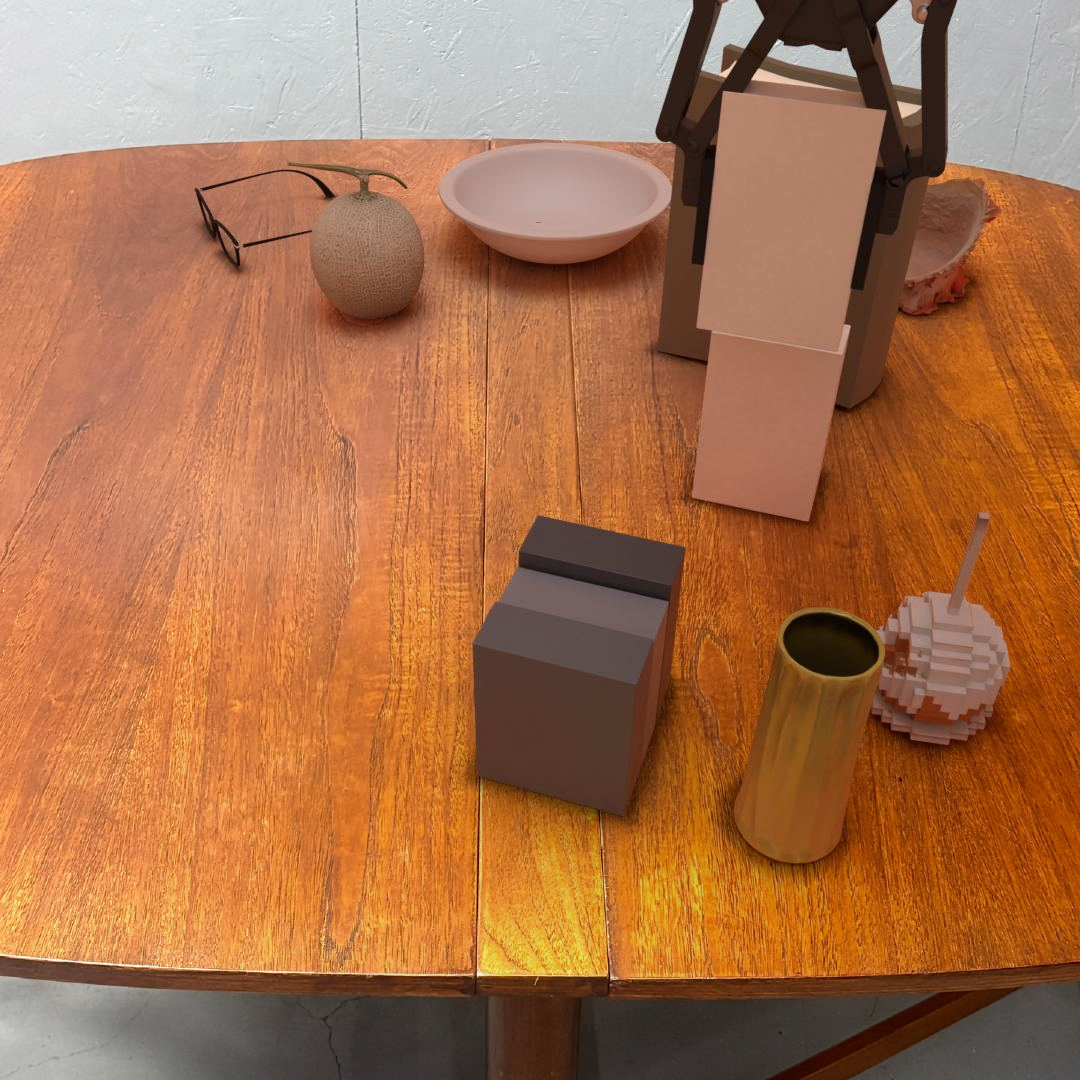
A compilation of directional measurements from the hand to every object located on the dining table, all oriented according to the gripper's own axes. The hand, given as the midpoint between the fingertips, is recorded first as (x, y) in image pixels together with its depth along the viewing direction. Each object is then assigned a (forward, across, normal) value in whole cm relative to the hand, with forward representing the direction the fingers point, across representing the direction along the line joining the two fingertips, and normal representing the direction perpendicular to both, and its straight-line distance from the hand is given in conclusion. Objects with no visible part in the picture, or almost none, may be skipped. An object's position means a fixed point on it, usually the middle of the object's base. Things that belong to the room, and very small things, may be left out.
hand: (779, 267), depth 71 cm
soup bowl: (+22, +28, -42) cm, 55 cm away
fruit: (+22, +40, -23) cm, 51 cm away
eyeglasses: (+22, +56, -35) cm, 69 cm away
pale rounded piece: (+22, -14, +12) cm, 29 cm away
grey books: (+22, +6, +21) cm, 31 cm away
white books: (+22, 0, -7) cm, 23 cm away
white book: (+4, 0, 0) cm, 4 cm away
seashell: (+22, -7, -47) cm, 52 cm away
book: (+22, +2, -26) cm, 34 cm away
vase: (+22, -8, +24) cm, 33 cm away
